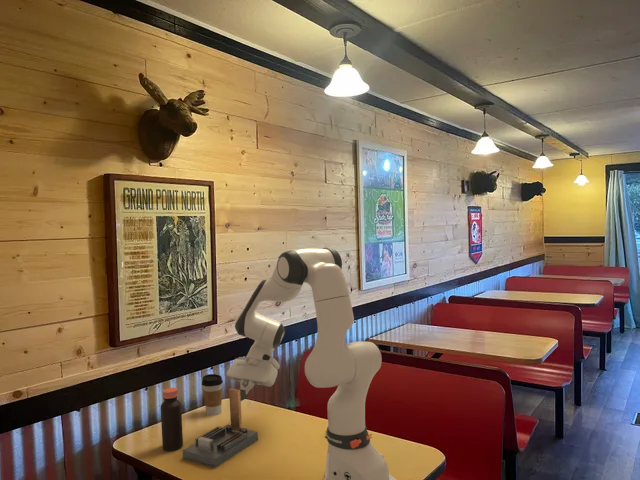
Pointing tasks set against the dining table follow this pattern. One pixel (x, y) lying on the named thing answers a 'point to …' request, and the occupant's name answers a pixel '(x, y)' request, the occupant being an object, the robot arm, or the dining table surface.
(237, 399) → the brown and black bar
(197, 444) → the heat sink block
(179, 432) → the bottle
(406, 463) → the dining table surface
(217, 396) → the coffee cup
